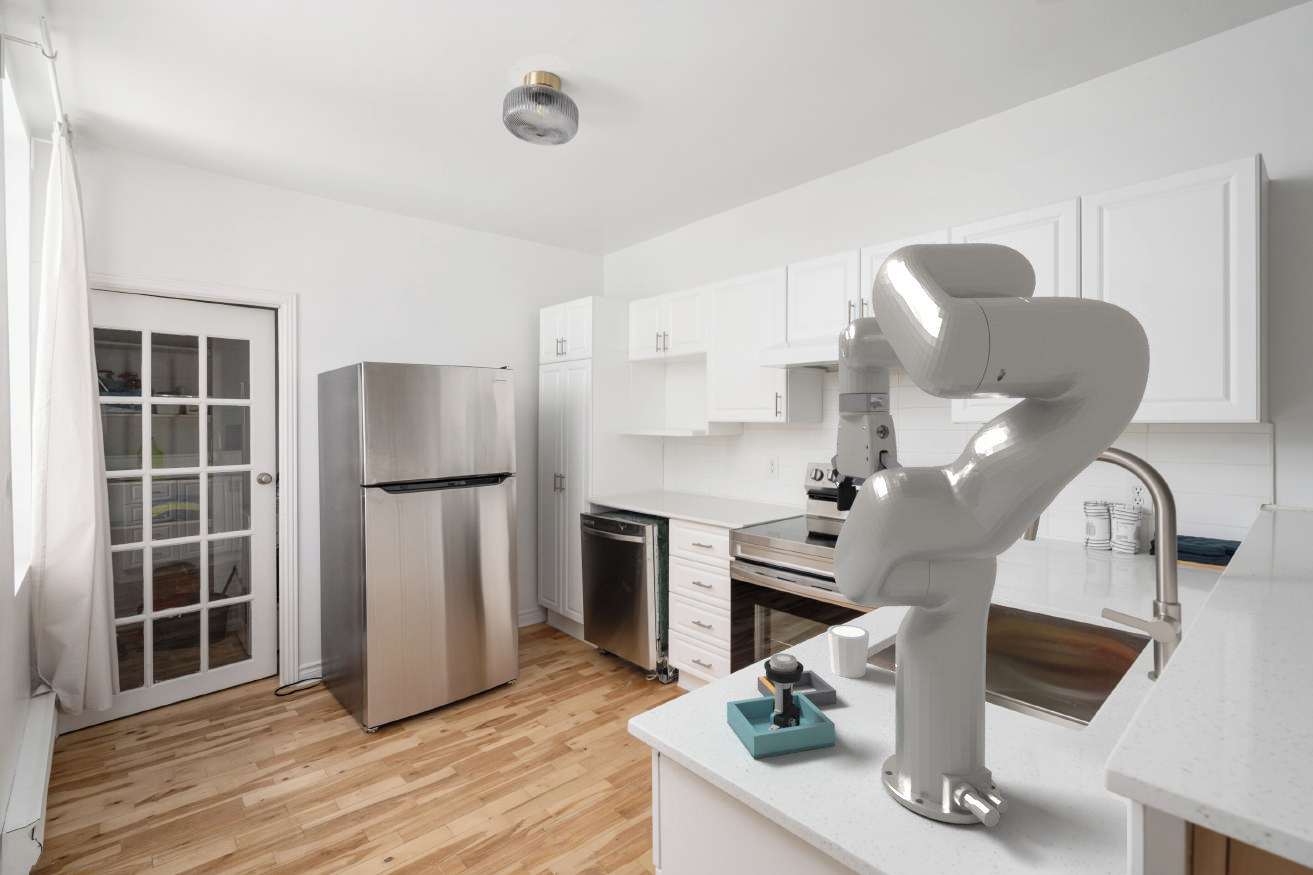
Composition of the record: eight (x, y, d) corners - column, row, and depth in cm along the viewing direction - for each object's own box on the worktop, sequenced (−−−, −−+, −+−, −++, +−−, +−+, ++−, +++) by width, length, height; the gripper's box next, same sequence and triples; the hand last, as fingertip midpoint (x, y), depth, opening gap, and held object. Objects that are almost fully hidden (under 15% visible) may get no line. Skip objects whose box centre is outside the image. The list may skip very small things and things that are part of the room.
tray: (834, 745, 80) (834, 723, 80) (754, 758, 78) (753, 736, 77) (800, 711, 90) (800, 691, 90) (727, 722, 87) (727, 702, 87)
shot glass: (839, 659, 109) (839, 621, 108) (876, 670, 104) (876, 630, 103) (819, 671, 104) (819, 631, 103) (857, 683, 99) (857, 641, 99)
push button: (787, 747, 79) (787, 673, 79) (752, 734, 83) (751, 662, 82) (810, 727, 84) (810, 657, 84) (776, 715, 88) (776, 647, 87)
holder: (836, 703, 92) (836, 688, 92) (778, 711, 90) (778, 696, 90) (811, 681, 100) (811, 668, 99) (757, 689, 97) (757, 675, 97)
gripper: (922, 404, 86) (921, 523, 87) (853, 406, 103) (853, 506, 104) (876, 405, 84) (876, 526, 85) (814, 407, 101) (814, 508, 102)
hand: (863, 515), depth 94 cm, fingers open, 9 cm apart
